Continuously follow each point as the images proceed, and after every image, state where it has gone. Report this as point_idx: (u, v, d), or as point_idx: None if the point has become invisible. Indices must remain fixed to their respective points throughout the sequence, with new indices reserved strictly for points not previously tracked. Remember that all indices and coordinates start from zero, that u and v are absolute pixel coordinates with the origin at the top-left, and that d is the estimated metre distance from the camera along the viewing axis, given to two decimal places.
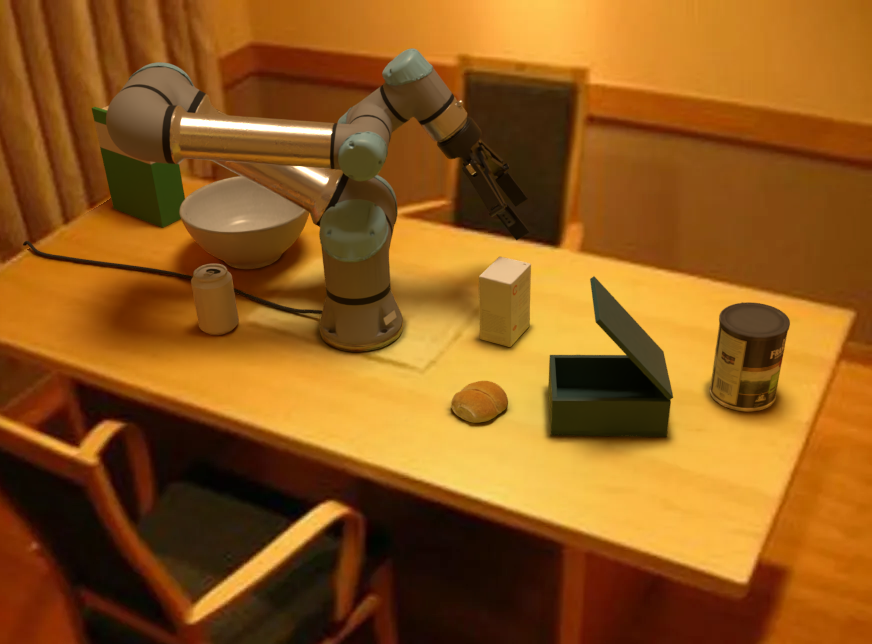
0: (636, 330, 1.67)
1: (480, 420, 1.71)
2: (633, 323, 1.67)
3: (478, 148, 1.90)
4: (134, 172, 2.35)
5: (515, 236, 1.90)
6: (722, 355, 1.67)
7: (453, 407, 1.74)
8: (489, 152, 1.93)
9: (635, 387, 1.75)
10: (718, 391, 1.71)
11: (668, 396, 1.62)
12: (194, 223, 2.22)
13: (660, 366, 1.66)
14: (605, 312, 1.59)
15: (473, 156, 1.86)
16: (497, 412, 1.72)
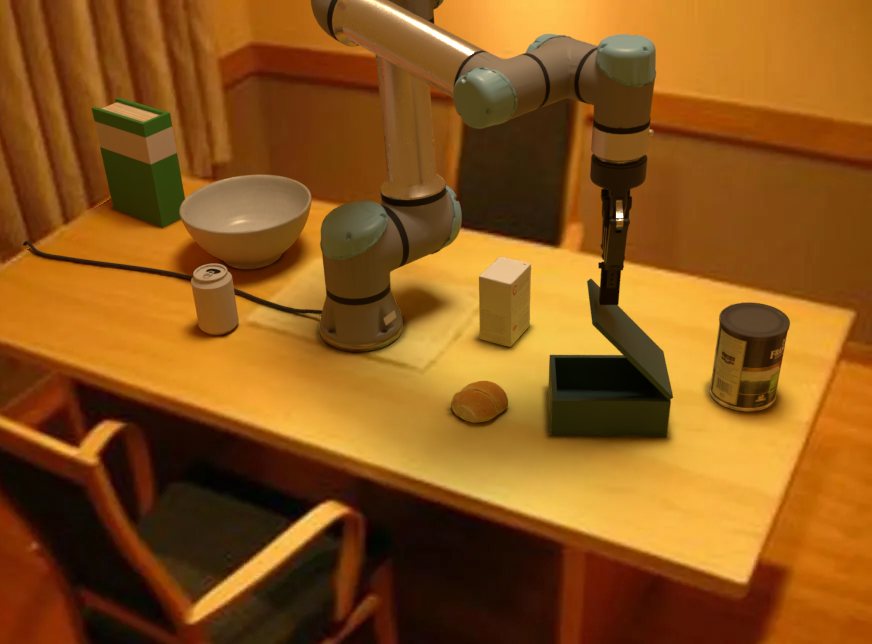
0: (635, 331, 1.67)
1: (480, 420, 1.71)
2: (631, 324, 1.68)
3: None
4: (134, 172, 2.35)
5: (602, 300, 1.60)
6: (722, 355, 1.67)
7: (453, 407, 1.74)
8: None
9: (635, 387, 1.75)
10: (718, 391, 1.71)
11: (668, 396, 1.62)
12: (194, 223, 2.22)
13: (660, 366, 1.66)
14: (602, 314, 1.59)
15: (626, 204, 1.47)
16: (497, 412, 1.72)
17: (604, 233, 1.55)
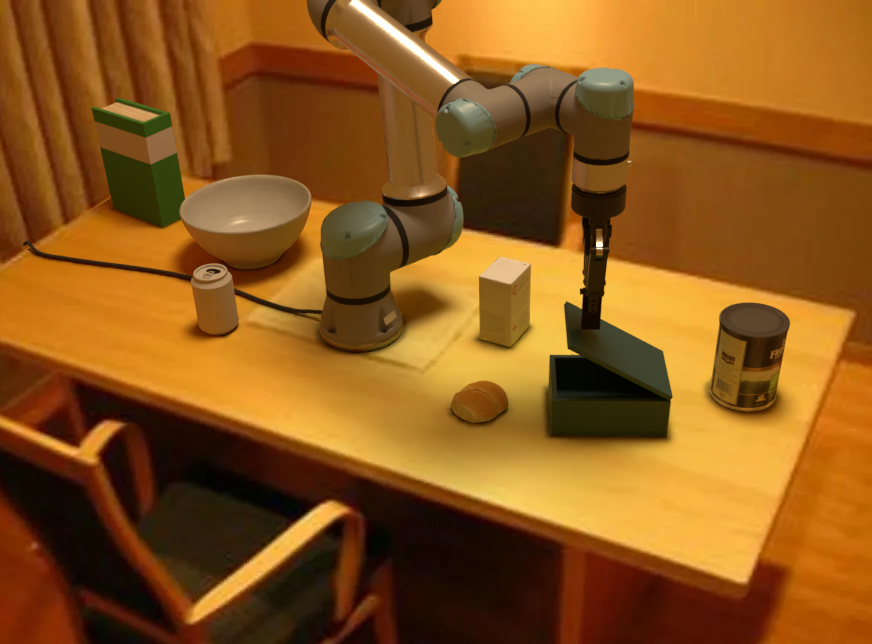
0: (623, 340, 1.68)
1: (480, 420, 1.71)
2: (620, 334, 1.69)
3: None
4: (134, 172, 2.35)
5: (583, 325, 1.63)
6: (722, 355, 1.67)
7: (453, 407, 1.74)
8: None
9: (635, 387, 1.75)
10: (718, 391, 1.71)
11: (667, 397, 1.62)
12: (194, 223, 2.22)
13: (656, 368, 1.66)
14: (579, 335, 1.62)
15: (606, 233, 1.50)
16: (497, 412, 1.72)
17: (585, 260, 1.58)
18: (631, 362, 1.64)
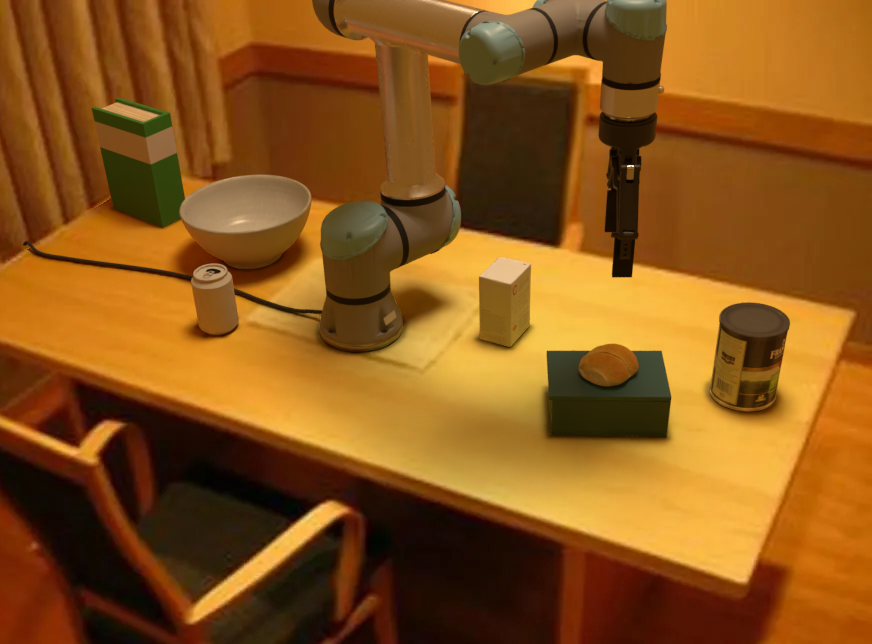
0: None
1: (612, 384, 1.64)
2: None
3: None
4: (134, 172, 2.35)
5: (614, 272, 1.50)
6: (722, 355, 1.67)
7: (581, 371, 1.67)
8: None
9: None
10: (718, 391, 1.71)
11: (666, 399, 1.62)
12: (194, 223, 2.22)
13: (652, 374, 1.67)
14: (560, 380, 1.67)
15: (635, 158, 1.43)
16: (628, 375, 1.65)
17: (611, 175, 1.54)
18: None
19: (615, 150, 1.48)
